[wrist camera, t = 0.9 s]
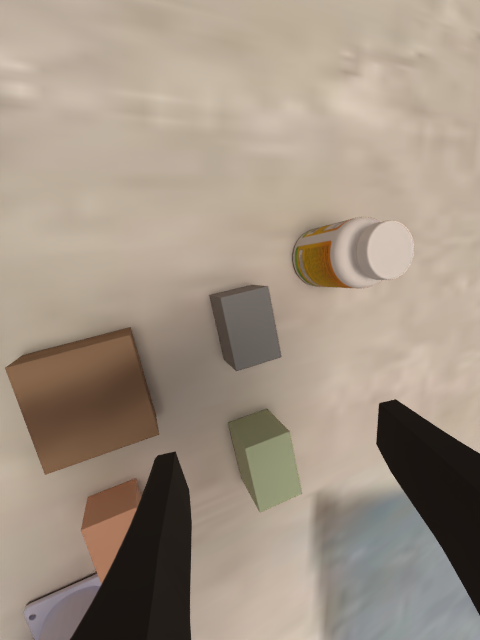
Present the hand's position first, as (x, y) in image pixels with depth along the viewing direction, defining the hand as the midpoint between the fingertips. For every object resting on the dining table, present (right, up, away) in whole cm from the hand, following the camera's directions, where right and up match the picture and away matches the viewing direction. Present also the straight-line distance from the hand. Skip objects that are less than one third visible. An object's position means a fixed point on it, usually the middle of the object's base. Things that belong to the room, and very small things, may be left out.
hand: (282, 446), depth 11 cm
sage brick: (0, -8, +21) cm, 22 cm away
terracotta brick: (-12, -13, +18) cm, 25 cm away
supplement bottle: (+6, +10, +20) cm, 24 cm away
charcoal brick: (-2, +4, +19) cm, 19 cm away
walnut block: (-13, -1, +16) cm, 21 cm away
